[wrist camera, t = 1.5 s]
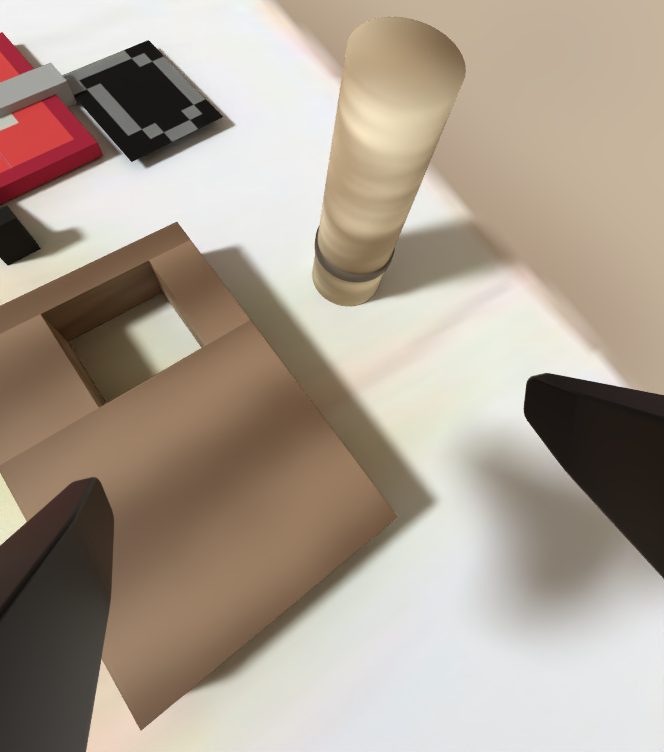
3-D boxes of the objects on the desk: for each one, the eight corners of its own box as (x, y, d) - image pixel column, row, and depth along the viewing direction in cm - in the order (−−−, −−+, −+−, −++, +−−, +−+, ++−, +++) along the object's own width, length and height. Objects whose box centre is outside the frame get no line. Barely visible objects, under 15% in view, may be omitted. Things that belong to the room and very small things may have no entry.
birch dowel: (394, 285, 27) (493, 78, 15) (339, 320, 26) (399, 123, 14) (351, 235, 28) (413, 1, 16) (296, 266, 27) (317, 37, 15)
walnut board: (381, 520, 22) (397, 516, 20) (160, 703, 19) (140, 730, 16) (186, 256, 26) (176, 221, 23) (-30, 365, 23) (-72, 340, 20)
